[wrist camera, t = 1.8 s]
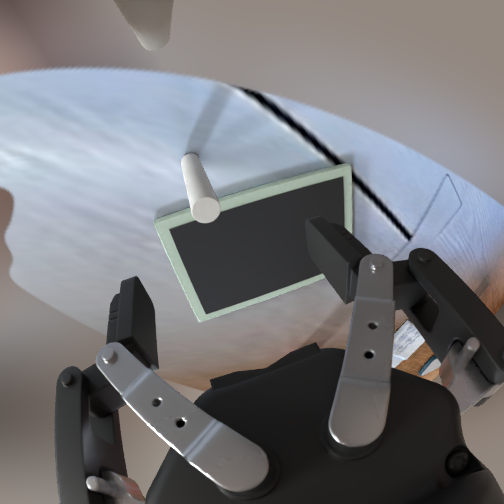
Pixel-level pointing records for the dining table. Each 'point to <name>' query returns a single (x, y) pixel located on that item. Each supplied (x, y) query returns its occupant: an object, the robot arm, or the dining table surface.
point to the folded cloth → (405, 342)
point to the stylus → (199, 190)
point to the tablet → (254, 241)
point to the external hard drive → (430, 366)
